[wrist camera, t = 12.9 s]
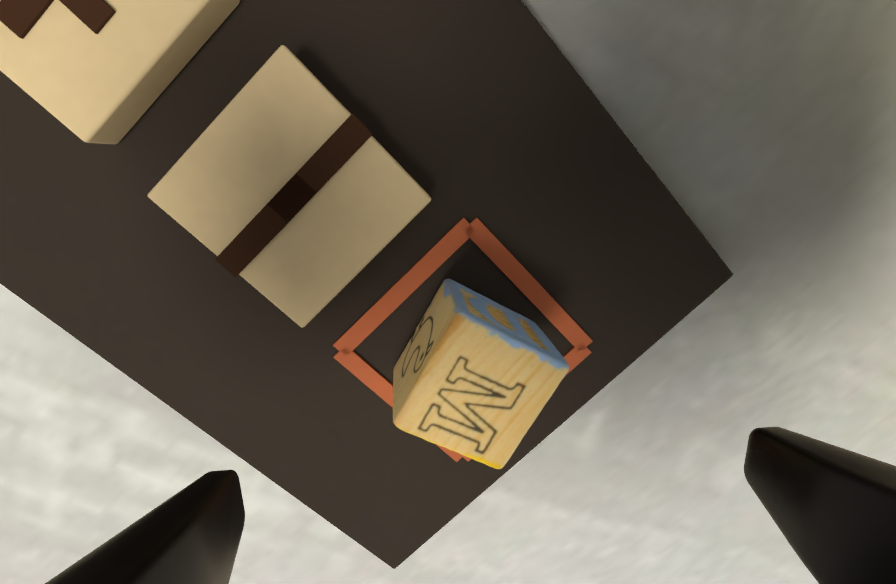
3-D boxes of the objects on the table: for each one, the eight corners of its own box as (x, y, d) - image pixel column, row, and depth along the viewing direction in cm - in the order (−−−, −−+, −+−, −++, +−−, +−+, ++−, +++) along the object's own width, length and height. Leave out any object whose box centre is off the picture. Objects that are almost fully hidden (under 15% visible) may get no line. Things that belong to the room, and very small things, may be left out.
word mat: (-237, 90, 10) (-372, 75, 9) (155, -454, 9) (89, -616, 7) (394, 555, 16) (393, 606, 14) (720, 270, 14) (769, 286, 12)
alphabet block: (538, 322, 13) (576, 369, 10) (483, 410, 14) (504, 477, 11) (445, 273, 12) (457, 307, 10) (391, 368, 13) (388, 427, 10)
